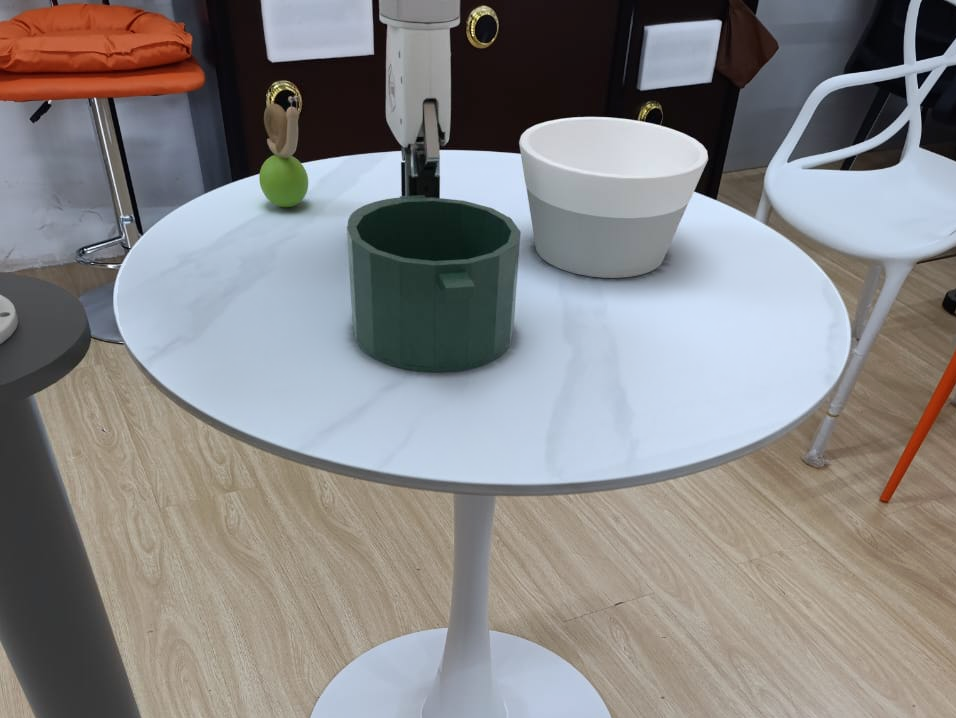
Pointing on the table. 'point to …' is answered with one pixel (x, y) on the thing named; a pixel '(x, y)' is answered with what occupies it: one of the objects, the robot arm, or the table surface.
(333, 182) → the table surface
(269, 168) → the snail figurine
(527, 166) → the bowl
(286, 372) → the table surface
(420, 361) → the pot
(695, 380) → the table surface
